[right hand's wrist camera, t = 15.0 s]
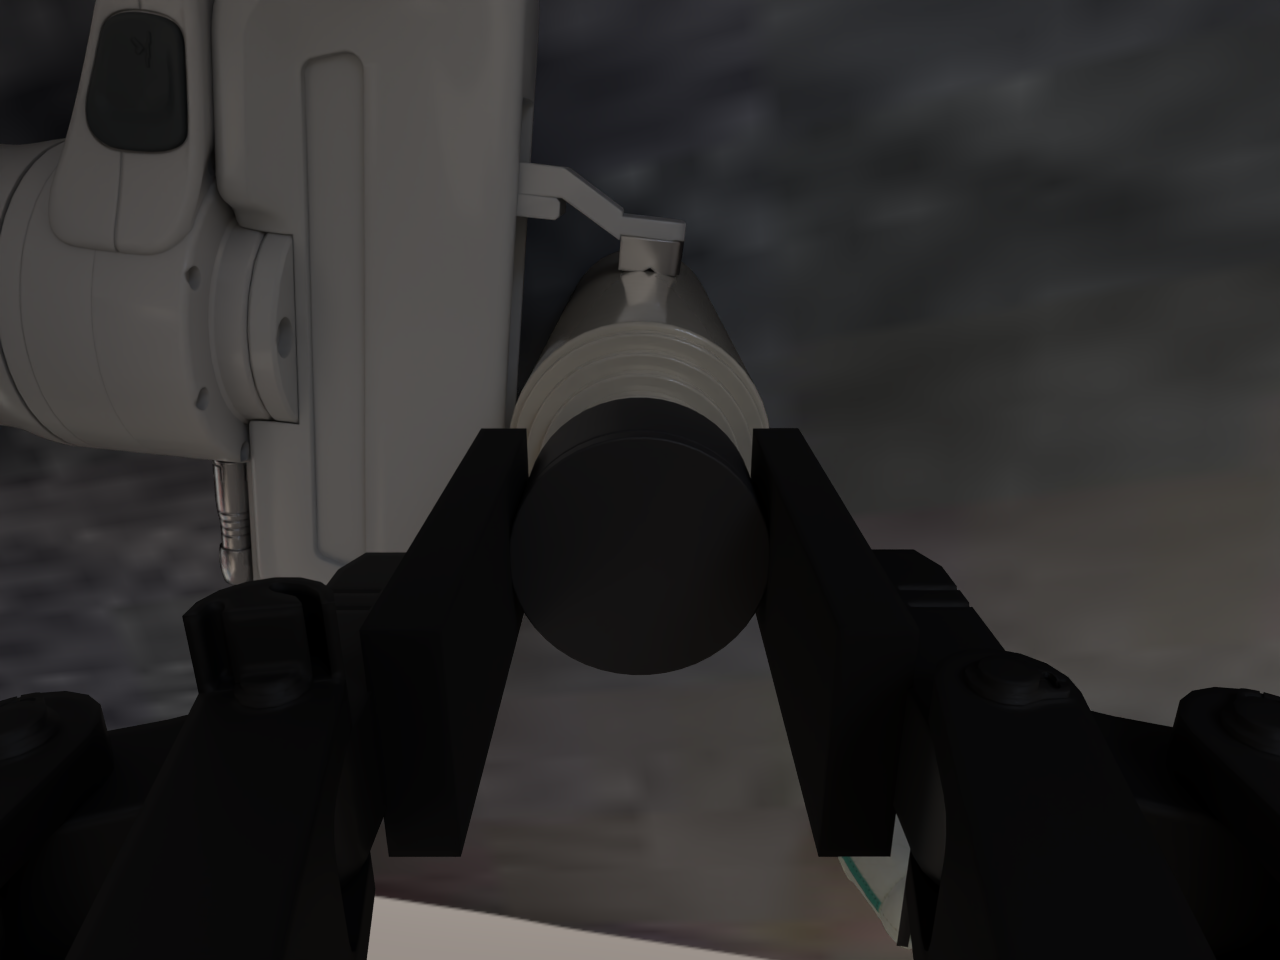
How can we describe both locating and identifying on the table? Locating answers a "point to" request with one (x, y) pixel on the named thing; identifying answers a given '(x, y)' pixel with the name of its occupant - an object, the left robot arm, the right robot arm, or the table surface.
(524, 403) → the ridged cream cylinder
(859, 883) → the ballet flat
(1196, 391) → the table surface
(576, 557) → the cap
